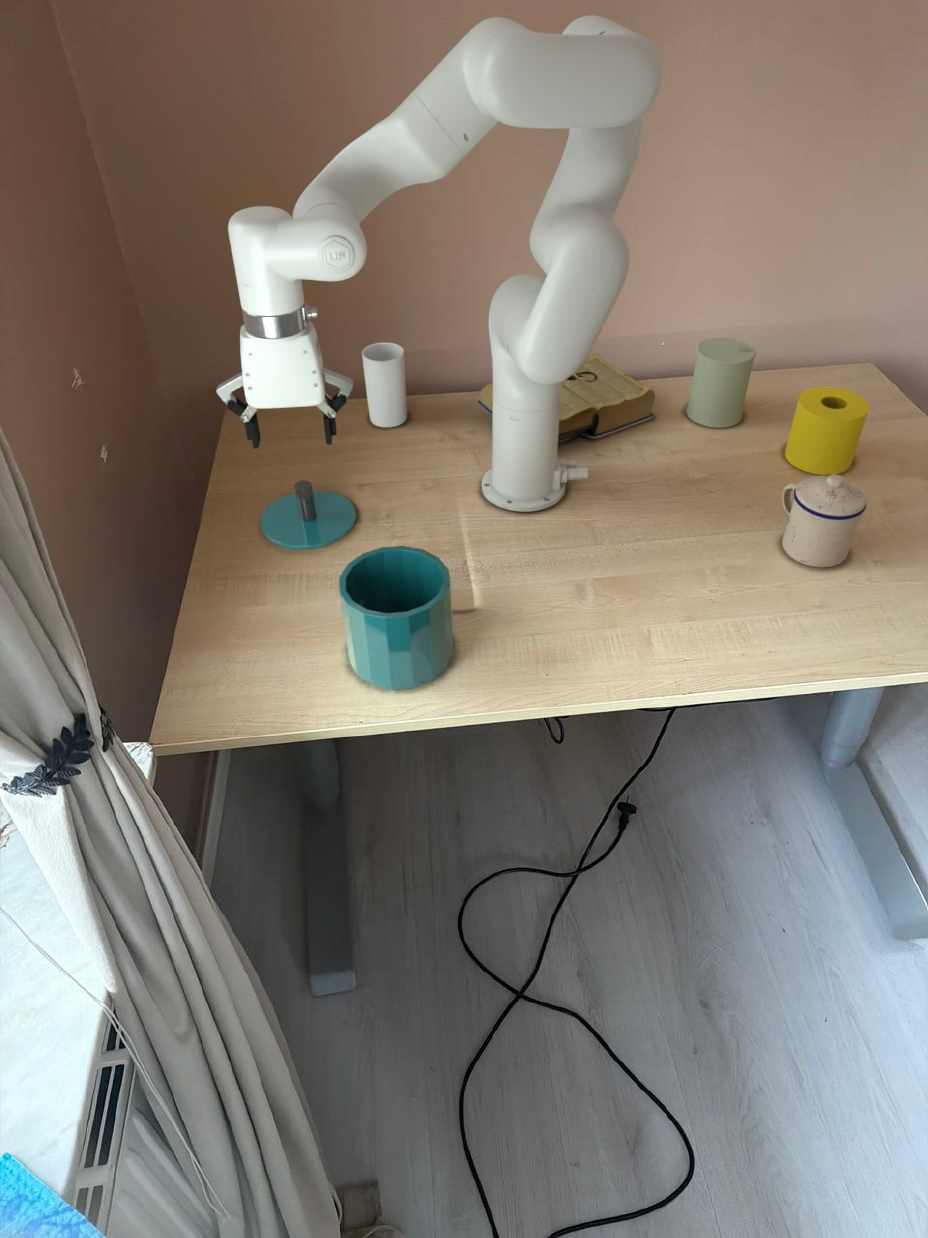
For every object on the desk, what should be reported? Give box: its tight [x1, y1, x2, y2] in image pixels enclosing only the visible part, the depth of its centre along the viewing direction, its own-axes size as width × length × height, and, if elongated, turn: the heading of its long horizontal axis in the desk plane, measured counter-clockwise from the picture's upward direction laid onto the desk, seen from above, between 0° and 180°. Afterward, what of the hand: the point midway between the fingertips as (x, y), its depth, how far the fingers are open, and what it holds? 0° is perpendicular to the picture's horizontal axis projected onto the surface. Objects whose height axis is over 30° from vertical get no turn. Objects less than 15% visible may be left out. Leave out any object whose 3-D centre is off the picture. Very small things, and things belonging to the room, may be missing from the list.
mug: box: [361, 341, 408, 428], centre depth 148 cm, size 10×7×12 cm, turn 21°
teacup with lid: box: [781, 474, 868, 568], centre depth 120 cm, size 12×9×12 cm
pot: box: [338, 545, 454, 690], centre depth 106 cm, size 13×13×12 cm
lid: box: [260, 479, 357, 550], centre depth 127 cm, size 14×14×7 cm
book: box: [476, 350, 656, 444], centre depth 148 cm, size 25×17×6 cm, turn 120°
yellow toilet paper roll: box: [784, 386, 870, 476], centre depth 137 cm, size 10×10×9 cm
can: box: [685, 336, 756, 429], centre depth 147 cm, size 9×9×12 cm
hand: (293, 441), depth 120 cm, fingers open, 9 cm apart
